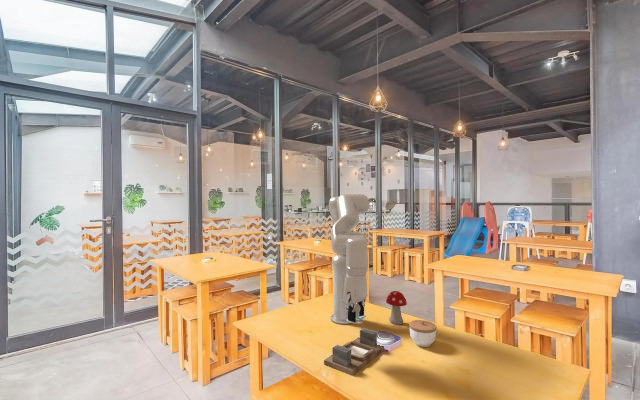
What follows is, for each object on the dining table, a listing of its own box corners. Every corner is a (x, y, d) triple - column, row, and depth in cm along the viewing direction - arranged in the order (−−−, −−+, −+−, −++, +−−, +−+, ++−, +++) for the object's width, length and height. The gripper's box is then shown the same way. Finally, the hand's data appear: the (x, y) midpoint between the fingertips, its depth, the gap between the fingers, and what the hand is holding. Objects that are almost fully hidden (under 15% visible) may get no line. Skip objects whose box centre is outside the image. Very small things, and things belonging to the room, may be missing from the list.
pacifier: (362, 326, 120) (367, 320, 125) (362, 309, 120) (367, 304, 125) (343, 322, 123) (349, 317, 129) (343, 306, 123) (349, 301, 128)
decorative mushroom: (382, 322, 158) (382, 291, 158) (391, 317, 165) (391, 287, 165) (401, 328, 152) (401, 295, 152) (409, 322, 158) (410, 291, 158)
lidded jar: (404, 343, 136) (404, 321, 136) (416, 335, 144) (416, 314, 144) (429, 352, 129) (429, 328, 129) (440, 343, 137) (441, 320, 136)
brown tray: (358, 340, 139) (358, 325, 138) (384, 349, 131) (384, 332, 131) (324, 364, 119) (324, 346, 119) (352, 375, 112) (352, 356, 112)
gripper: (359, 265, 134) (359, 310, 134) (335, 273, 120) (334, 323, 120) (376, 268, 129) (375, 315, 129) (352, 277, 116) (352, 328, 116)
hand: (356, 318), depth 125 cm, fingers closed on pacifier, 5 cm apart
